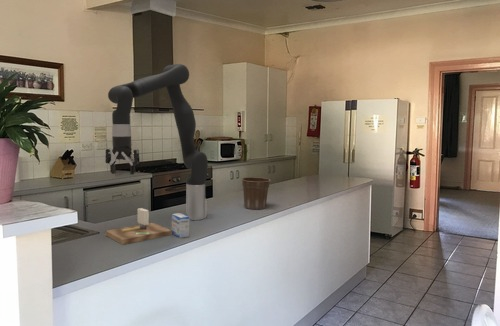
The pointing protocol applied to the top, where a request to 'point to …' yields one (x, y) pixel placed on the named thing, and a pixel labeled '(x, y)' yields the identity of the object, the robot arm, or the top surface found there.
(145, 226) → the toy mallet
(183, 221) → the medicine box
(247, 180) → the plant pot
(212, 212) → the top surface
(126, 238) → the brown flat wooden board
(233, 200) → the top surface
